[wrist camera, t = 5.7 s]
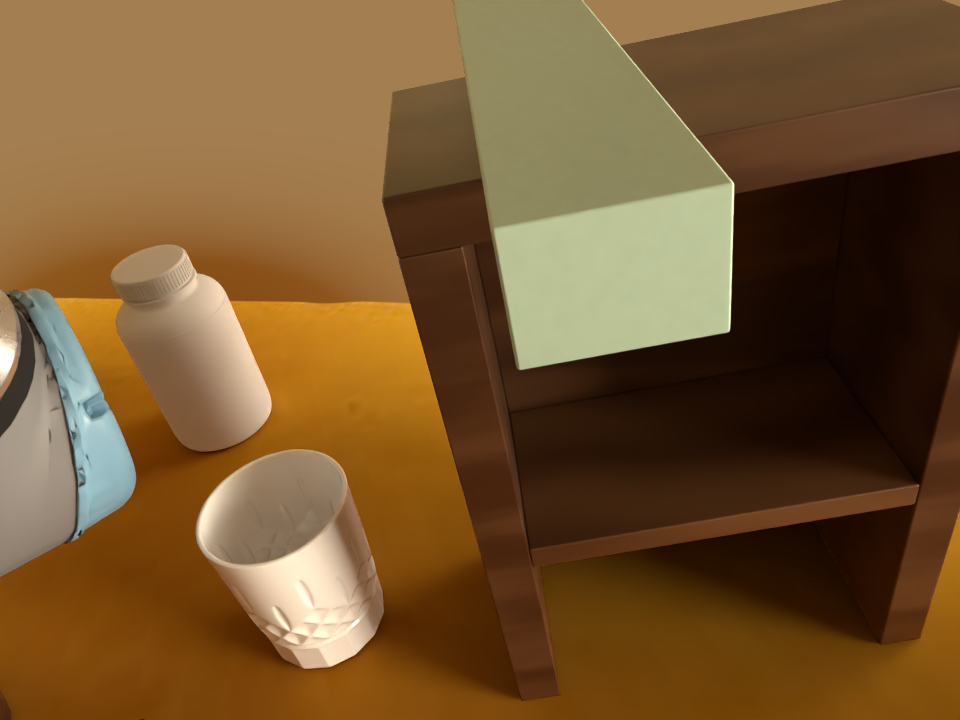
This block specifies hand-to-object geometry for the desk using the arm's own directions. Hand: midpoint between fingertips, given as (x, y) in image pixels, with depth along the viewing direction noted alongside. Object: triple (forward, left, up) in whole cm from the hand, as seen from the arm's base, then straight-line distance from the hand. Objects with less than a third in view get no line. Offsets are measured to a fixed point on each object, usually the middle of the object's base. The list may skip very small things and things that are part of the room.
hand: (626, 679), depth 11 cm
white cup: (-26, -2, -27) cm, 37 cm away
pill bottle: (-49, -1, -27) cm, 55 cm away
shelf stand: (-14, +15, -26) cm, 33 cm away
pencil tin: (-14, +9, +2) cm, 17 cm away
